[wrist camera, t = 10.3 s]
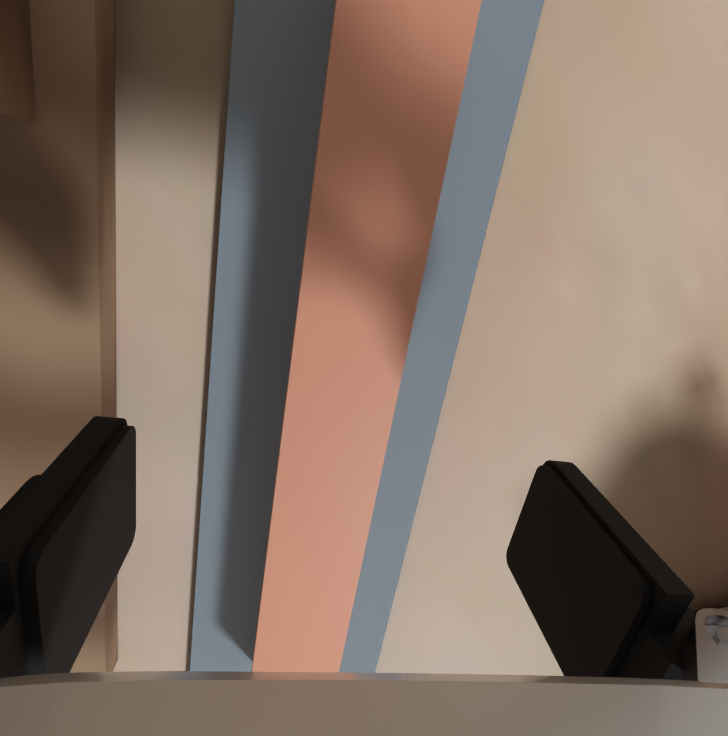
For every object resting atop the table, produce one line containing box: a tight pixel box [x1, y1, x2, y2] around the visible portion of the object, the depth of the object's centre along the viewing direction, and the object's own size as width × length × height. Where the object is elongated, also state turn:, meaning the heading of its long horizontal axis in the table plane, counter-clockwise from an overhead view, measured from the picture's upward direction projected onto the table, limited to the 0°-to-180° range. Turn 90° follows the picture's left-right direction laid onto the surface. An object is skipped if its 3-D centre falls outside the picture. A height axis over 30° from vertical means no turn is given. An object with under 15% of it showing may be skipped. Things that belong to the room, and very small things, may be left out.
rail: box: [252, 0, 482, 672], centre depth 15 cm, size 24×3×3 cm, turn 170°
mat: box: [190, 0, 544, 673], centre depth 16 cm, size 27×8×1 cm, turn 170°
